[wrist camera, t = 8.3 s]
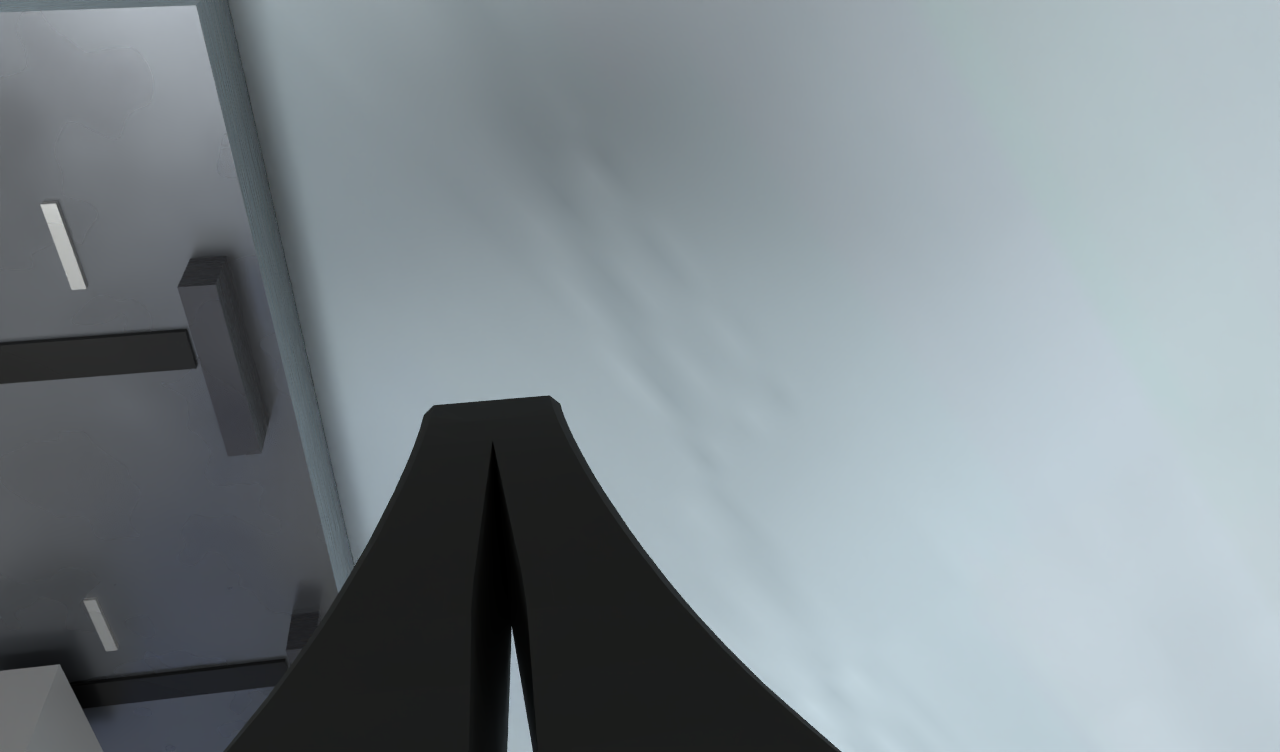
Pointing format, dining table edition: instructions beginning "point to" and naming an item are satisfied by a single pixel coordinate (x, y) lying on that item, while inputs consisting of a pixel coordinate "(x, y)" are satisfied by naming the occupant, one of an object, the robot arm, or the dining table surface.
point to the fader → (42, 713)
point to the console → (151, 379)
